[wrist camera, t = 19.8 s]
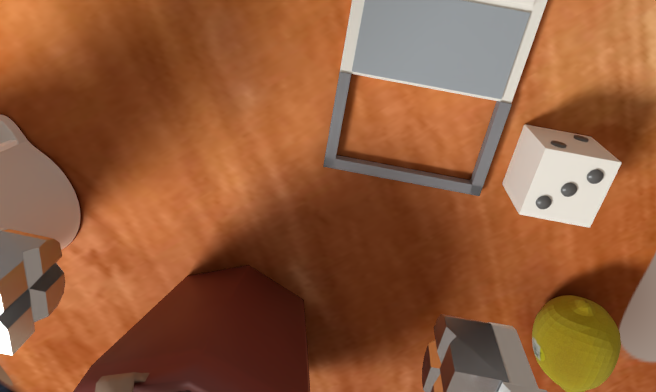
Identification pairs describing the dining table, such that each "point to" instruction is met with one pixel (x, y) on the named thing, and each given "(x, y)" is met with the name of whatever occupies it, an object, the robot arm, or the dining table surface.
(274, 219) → the dining table surface
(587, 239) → the dining table surface
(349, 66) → the game board
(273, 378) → the bucket
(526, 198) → the die
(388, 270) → the dining table surface
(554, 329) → the lemon
